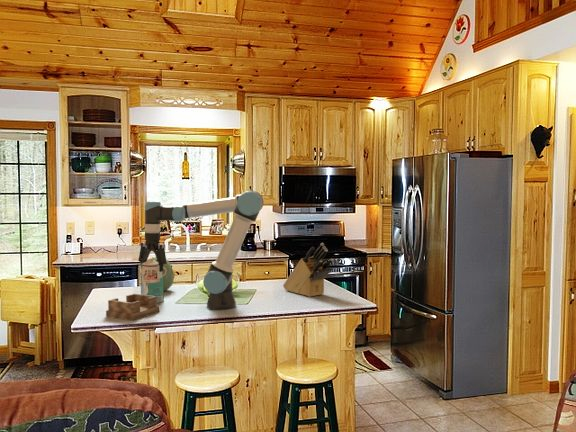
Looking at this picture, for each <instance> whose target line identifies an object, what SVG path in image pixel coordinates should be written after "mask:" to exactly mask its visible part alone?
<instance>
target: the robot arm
mask: <svg viewBox="0 0 576 432" xmlns="http://www.w3.org/2000/svg"><path fill="white" fill-rule="evenodd" d="M263 207H264V198H263V196H262V194H261V193H259V192H258V191H255V190H247V191H244V192H242V193H241V194H240V193H239V194H236V195H235V196H234V197H226V198H220V199H212V200H205V201H204V200H203V201H199V202H198V201H197V202H192V203H184V204H177V205H163V204H162V203H161V201H151V200H150V201H146V202H145V206H144V232H145V233H144V240H145V241H143V242H140V250H139V254H138V255H139V256H138V262H139V263H140V262H141V263H144V262H146V261H147V259H148V257H150V254H151V252H153V254H154V256H156V258H157V261H158V265H157V278H162V271H163V265H164V264H166V263H167V261H166V259H167V257H166V256H167V255H166V249H165V246H166V245H165V243H160V240H161V222H162V221H166V222H167V221H168V222H170V221H171V222H179V221H180V222H183V221H184V220H185V219H191V218H198V217H199V218H200V217H206V216H214V215H221V214H223V215H224V214H229V213H233V215H234V218H233V221H232V223H231V225H230V227H229V230H228V232H227V234H226V237H225V239H224V242H223V244H222V246H221V247H220V251H219V253H218V255H217V258H216V259H215V261H211V263H210V264H209V268H208V270H207V272H206V274H205V275H204V277H203V287H204V288H205V290H206V291H207V292H208V293H209V296H208V299H207V302H206V308H207V309H208V310H213V311H217V310H218V311H223V310H230V309H234V308H235V307H236V306H237V303H236V302H237V301H236V300H235V296H234V293H233V273H234V269H233V266H234V264H235V262H236V259H237V256H238V254H239V252H240V250H241V247H242V245H243V243H244V240H245V238H246V236H247V233H248V231H249V228H250V226H251V225H252V224H253V223H255V222H256V220H257V218H258V216H259V214H260V212H261V210H262V209H263Z"/></svg>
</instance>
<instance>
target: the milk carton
mask: <svg viewBox="0 0 576 432" xmlns="http://www.w3.org/2000/svg"><path fill="white" fill-rule="evenodd" d="M150 258H153V260H155V261H156V262H158V261H157V258H156V256H155V255H153V256H148V259H147V261H148V260H149V259H150ZM139 264H140V265H139V266H140V267H139V269H140V271H139V272H140V295H149V296H157V304H159V303H163V302H165V301H164V297H165V295H164V294H165V293H164V292H165V291H164V289H163V276H162V278H160V281H159V282H156V283H145V282H142V263H141V262H139ZM162 275H163V271H162Z"/></svg>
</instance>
